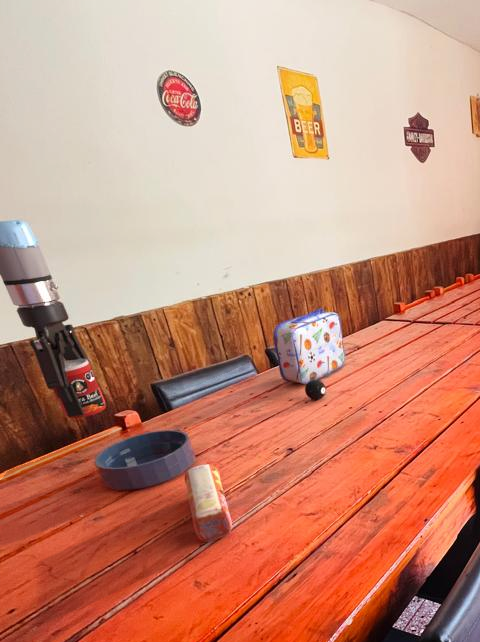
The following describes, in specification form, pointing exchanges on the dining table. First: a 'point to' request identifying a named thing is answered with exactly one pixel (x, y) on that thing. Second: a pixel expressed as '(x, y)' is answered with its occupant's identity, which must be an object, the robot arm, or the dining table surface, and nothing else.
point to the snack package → (207, 503)
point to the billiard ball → (315, 389)
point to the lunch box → (309, 346)
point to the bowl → (145, 459)
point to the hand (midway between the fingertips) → (84, 407)
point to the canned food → (83, 387)
